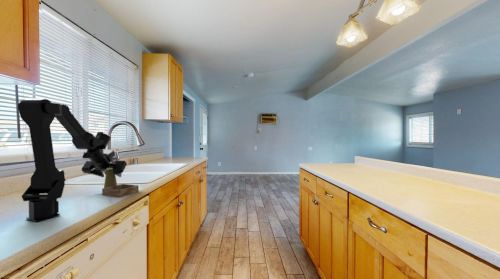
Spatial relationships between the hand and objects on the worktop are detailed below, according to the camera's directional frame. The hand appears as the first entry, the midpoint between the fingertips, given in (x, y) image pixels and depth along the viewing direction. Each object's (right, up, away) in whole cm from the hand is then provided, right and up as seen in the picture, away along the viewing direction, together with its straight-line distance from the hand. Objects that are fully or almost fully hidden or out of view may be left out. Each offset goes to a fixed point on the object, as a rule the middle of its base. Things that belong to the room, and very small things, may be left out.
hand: (112, 176), depth 112 cm
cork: (0, -7, -1) cm, 7 cm away
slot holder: (+9, -7, -7) cm, 13 cm away
